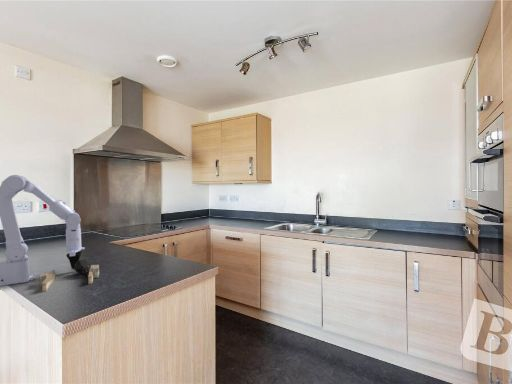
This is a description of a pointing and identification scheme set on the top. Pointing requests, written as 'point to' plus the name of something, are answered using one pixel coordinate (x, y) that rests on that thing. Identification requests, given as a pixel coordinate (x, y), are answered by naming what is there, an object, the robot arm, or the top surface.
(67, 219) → the robot arm
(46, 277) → the guide channel
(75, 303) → the top surface
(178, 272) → the top surface
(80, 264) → the power plug
